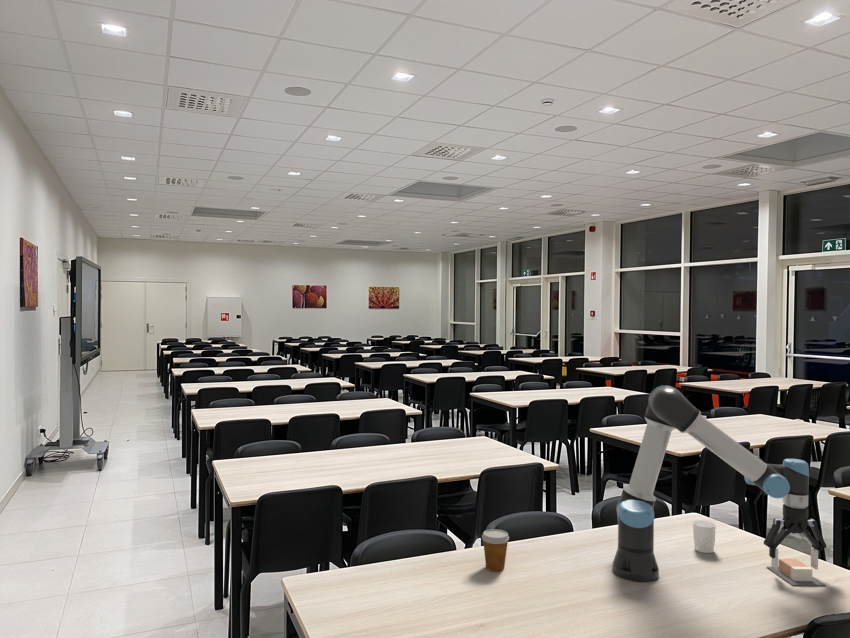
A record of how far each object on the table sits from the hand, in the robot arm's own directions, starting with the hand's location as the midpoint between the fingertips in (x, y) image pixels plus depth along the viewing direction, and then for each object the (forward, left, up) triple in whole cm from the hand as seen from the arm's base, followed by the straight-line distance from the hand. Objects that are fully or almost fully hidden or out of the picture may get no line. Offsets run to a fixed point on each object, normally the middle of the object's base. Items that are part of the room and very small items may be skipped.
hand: (794, 567), depth 208 cm
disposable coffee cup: (-102, +5, -3) cm, 102 cm away
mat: (0, 0, -3) cm, 3 cm away
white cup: (-20, +24, -3) cm, 31 cm away
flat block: (0, 0, -3) cm, 3 cm away
